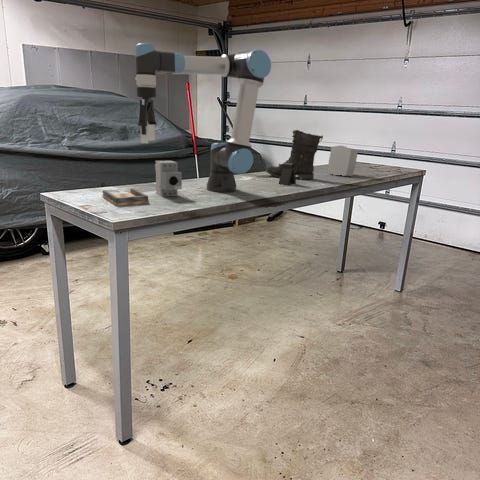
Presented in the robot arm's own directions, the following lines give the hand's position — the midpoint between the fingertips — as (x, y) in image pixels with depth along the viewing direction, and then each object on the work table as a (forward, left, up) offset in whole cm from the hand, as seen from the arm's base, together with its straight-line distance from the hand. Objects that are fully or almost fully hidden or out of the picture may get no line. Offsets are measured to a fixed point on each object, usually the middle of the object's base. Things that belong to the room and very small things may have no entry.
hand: (148, 141), depth 169 cm
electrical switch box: (-150, -29, -25) cm, 154 cm away
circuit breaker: (-12, -6, -25) cm, 28 cm away
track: (+9, -4, -24) cm, 26 cm away
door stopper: (-88, -13, -25) cm, 92 cm away
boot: (-106, -31, -25) cm, 113 cm away
